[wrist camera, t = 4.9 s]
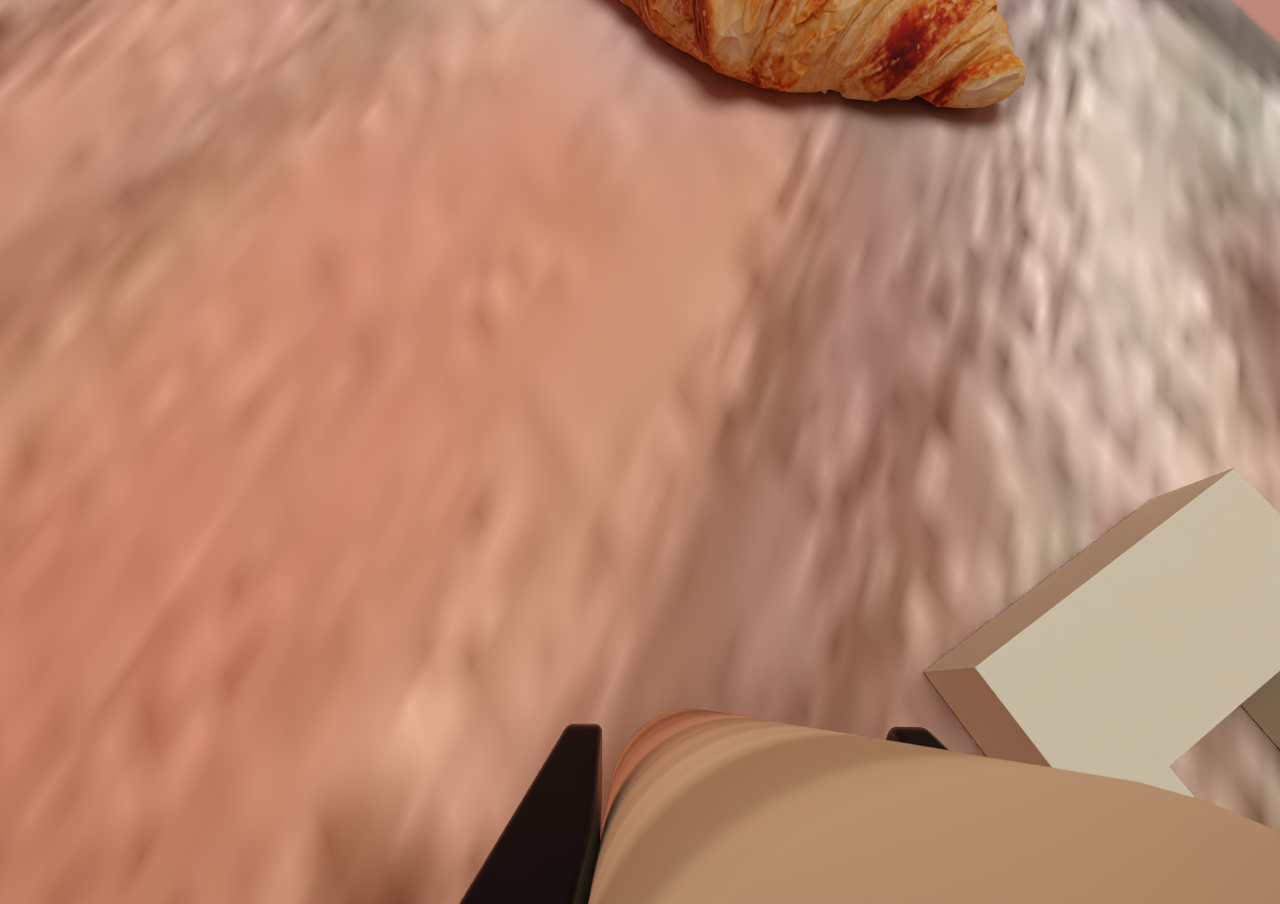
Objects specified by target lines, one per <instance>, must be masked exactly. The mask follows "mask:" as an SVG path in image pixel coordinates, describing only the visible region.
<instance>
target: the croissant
mask: <svg viewBox="0 0 1280 904" xmlns="http://www.w3.org/2000/svg"><path fill="white" fill-rule="evenodd" d="M620 1H621V3H623V4H625V5H628V6H629V7H630V8H631V9H632V10H633V11H634V12H635V13H636V14H637V15H638V16H639V17H640V18H641V20H642V21H643V22H644V24H645V25H646V26H647V27H648V29H649V30H650V31H651V32H652V33H654V34H655V35H656V36H658V37H659V38H661V39H663V40H664V41H666V42H667V43H669V44H670V45H672V46H674V47H676V48H678V49H679V50H681V51H683V52H686V53H688V54H691V55H692V56H694V57H695V58H697V59H698V60H700V61H702V62H703V63H707V64H709V65H710V66H711V67H712V68H713V69H714V70H715V71H716V72H719V73H722V74H724V75H727V76H730V77H733V78H736V79H739V80H741V81H744V82H748V83H751V84H753V85H754V86H757V87H761V88H766V89H770V90H775V91H786V92H818V91H821V92H823V93H824V94H825V93H826V92H827V91H828V90H829V89H830V90H834V91H837V92H840V93H841V96H842V97H845V98H847V99H858V100H867V101H875V102H876V101H879V100H882V99H890V98H896V99H899V100H906V99H911V98H913V97H915V96H916V95H918V96H919V97H921V98H923V99H925V100H926V101H928V102H930V103H931V104H933V105H934V106H936V107H952V108H976V107H985V106H987V105H990V104H993V103H996V102H999V101H1002V100H1004V99H1005V98H1007V97H1009V96H1010V95H1011V94H1012V93H1013V92H1014V91H1015V90H1017V89H1018V88H1019V87H1020V86H1022V85H1024V80H1025V76H1026V71H1025V67H1024V65H1023V62H1022V61H1020V59H1019V58H1018V57H1017V56H1015V55H1014V54H1013V43H1012V39H1011V35H1010V34H1009V33H1008V32H1007V30H1008V26H1007V24H1006V22H1005V20H1004V18H1003V16H1002V15H1001V14H999V13H997V1H996V0H620Z"/></svg>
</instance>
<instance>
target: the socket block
mask: <svg viewBox="0 0 1280 904" xmlns="http://www.w3.org/2000/svg"><path fill="white" fill-rule="evenodd" d="M923 672H924V674H925V675H926V676H927V678H928V679H929V680H930V682H931V683H932V684H933V686H934V687H935V688H936V690H937V691H938V692H939V694H940V695H941V696H942V698H943V699H944V700H945V702H946V703H947V704H948V706H949V707H950V708H951V710H952V711H953V712H954V714H955V715H956V716H957V718H958V719H959V720H960V722H961V723H962V724H963V726H964V727H965V728H966V730H967V731H968V732H969V734H970V735H971V736H972V738H973V739H974V740H975V742H976V743H977V744H978V746H979V747H980V748H981V750H982V751H983V752H984V754H985V755H986V756H987V757H991V758H997V759H1003V760H1009V761H1015V762H1021V763H1027V764H1033V765H1039V766H1045V767H1051V768H1057V769H1063V770H1069V771H1075V772H1081V773H1087V774H1094V775H1100V776H1106V777H1112V778H1118V779H1124V780H1130V781H1136V782H1140V783H1144V784H1147V785H1151V786H1154V787H1158V788H1162V789H1165V790H1169V791H1172V792H1176V793H1179V794H1183V795H1186V796H1190V797H1193V798H1195V797H1194V796H1193V795H1192V793H1191V792H1190V791H1189V790H1188V789H1187V787H1186V786H1185V785H1184V784H1183V782H1182V781H1181V780H1180V779H1179V778H1178V776H1177V775H1176V774H1175V773H1174V771H1173V770H1172V769H1171V768H1170V767H1169V766H1170V765H1171V764H1172V763H1173V762H1174V761H1175V760H1177V759H1178V758H1179V757H1180V756H1181V755H1182V754H1184V753H1185V752H1186V751H1187V750H1188V749H1189V748H1191V747H1192V746H1193V745H1194V744H1195V743H1196V742H1197V741H1199V740H1200V739H1201V738H1202V737H1203V736H1204V735H1206V734H1207V733H1208V732H1209V731H1210V730H1211V729H1213V728H1214V727H1215V726H1216V725H1217V724H1218V723H1220V722H1221V721H1222V720H1223V719H1224V718H1225V717H1227V716H1228V715H1229V714H1230V713H1231V712H1232V711H1233V710H1235V709H1236V708H1237V707H1238V706H1239V705H1240V704H1241V705H1242V707H1243V708H1244V709H1245V710H1246V711H1247V712H1248V714H1249V715H1250V716H1251V717H1252V718H1253V719H1254V720H1255V722H1256V723H1257V724H1258V725H1259V726H1260V727H1261V729H1262V730H1263V731H1264V732H1265V733H1266V734H1267V735H1268V737H1269V738H1270V739H1271V740H1272V741H1273V742H1274V744H1275V745H1276V746H1277V747H1278V748H1279V749H1280V514H1279V513H1278V512H1277V511H1276V510H1275V509H1274V508H1273V507H1272V506H1271V505H1270V504H1269V503H1268V502H1267V501H1266V500H1265V499H1264V498H1263V497H1262V495H1261V494H1260V493H1259V492H1258V491H1257V490H1256V489H1255V488H1254V487H1253V486H1252V485H1251V484H1250V483H1249V482H1248V481H1247V480H1246V479H1245V478H1244V477H1243V476H1242V475H1241V474H1240V472H1239V471H1238V470H1237V469H1236V468H1233V469H1230V470H1227V471H1225V472H1222V473H1219V474H1217V475H1214V476H1211V477H1209V478H1206V479H1203V480H1201V481H1198V482H1195V483H1193V484H1190V485H1187V486H1185V487H1182V488H1180V489H1177V490H1174V491H1172V492H1169V493H1166V494H1164V495H1161V496H1158V497H1156V498H1153V499H1151V500H1150V501H1148V502H1147V503H1146V504H1144V505H1143V506H1142V507H1140V508H1139V509H1138V510H1136V511H1135V512H1134V513H1132V514H1131V515H1130V516H1128V517H1127V518H1126V519H1124V520H1123V521H1122V522H1120V523H1119V524H1118V525H1117V526H1115V527H1114V528H1113V529H1111V530H1110V531H1109V532H1107V533H1106V534H1105V535H1103V536H1102V537H1101V538H1099V539H1098V540H1097V541H1095V542H1094V543H1093V544H1091V545H1090V546H1089V547H1087V548H1086V549H1085V550H1083V551H1082V552H1081V553H1079V554H1078V555H1077V556H1076V557H1074V558H1073V559H1072V560H1070V561H1069V562H1068V563H1066V564H1065V565H1064V566H1062V567H1061V568H1060V569H1058V570H1057V571H1056V572H1054V573H1053V574H1052V575H1050V576H1049V577H1048V578H1046V579H1045V580H1044V581H1042V582H1041V583H1040V584H1038V585H1037V586H1036V587H1035V588H1033V589H1032V590H1031V591H1029V592H1028V593H1027V594H1025V595H1024V596H1023V597H1021V598H1020V599H1019V600H1017V601H1016V602H1015V603H1013V604H1012V605H1011V606H1009V607H1008V608H1007V609H1005V610H1004V611H1003V612H1001V613H1000V614H999V615H997V616H996V617H995V618H994V619H992V620H991V621H990V622H988V623H987V624H986V625H984V626H983V627H982V628H980V629H979V630H978V631H976V632H975V633H974V634H972V635H971V636H970V637H968V638H967V639H966V640H964V641H963V642H962V643H960V644H959V645H958V646H956V647H955V648H954V649H953V650H951V651H950V652H949V653H947V654H946V655H945V656H943V657H942V658H941V659H939V660H938V661H937V662H935V663H934V664H933V665H931V666H930V667H929V668H927V669H926V670H925V671H923Z"/></svg>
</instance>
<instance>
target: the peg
mask: <svg viewBox="0 0 1280 904" xmlns="http://www.w3.org/2000/svg"><path fill="white" fill-rule="evenodd" d="M588 904H1280V832H1278V831H1276V830H1274V829H1272V828H1269V827H1267V826H1264V825H1262V824H1260V823H1257V822H1255V821H1253V820H1250V819H1248V818H1245V817H1243V816H1241V815H1238V814H1236V813H1234V812H1231V811H1229V810H1226V809H1224V808H1222V807H1219V806H1217V805H1214V804H1212V803H1210V802H1207V801H1204V800H1201V799H1197V798H1193V797H1190V796H1186V795H1183V794H1179V793H1176V792H1172V791H1169V790H1165V789H1162V788H1158V787H1154V786H1151V785H1147V784H1144V783H1140V782H1136V781H1130V780H1124V779H1118V778H1112V777H1106V776H1100V775H1094V774H1087V773H1081V772H1075V771H1069V770H1063V769H1057V768H1051V767H1045V766H1039V765H1033V764H1027V763H1021V762H1015V761H1009V760H1003V759H997V758H991V757H985V756H979V755H973V754H967V753H961V752H955V751H949V750H943V749H937V748H931V747H925V746H919V745H913V744H907V743H901V742H895V741H889V740H883V739H877V738H871V737H864V736H858V735H852V734H846V733H840V732H834V731H828V730H822V729H816V728H810V727H804V726H798V725H792V724H786V723H780V722H774V721H768V720H762V719H756V718H750V717H744V716H738V715H732V714H726V713H720V712H714V711H708V710H701V709H683V710H676V711H672V712H669V713H666V714H663V715H661V716H659V717H657V718H655V719H653V720H652V721H650V722H648V723H647V724H646V725H644V726H643V727H642V728H641V729H640V730H638V732H637V733H636V734H635V735H634V736H633V737H632V738H631V739H630V741H629V742H628V743H627V745H626V746H625V748H624V750H623V751H622V753H621V755H620V757H619V759H618V762H617V764H616V767H615V770H614V774H613V778H612V782H611V788H610V793H609V798H608V803H607V809H606V814H605V819H604V824H603V830H602V835H601V840H600V846H599V851H598V856H597V861H596V866H595V871H594V877H593V882H592V887H591V892H590V898H589V903H588Z"/></svg>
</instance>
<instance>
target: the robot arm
mask: <svg viewBox="0 0 1280 904" xmlns="http://www.w3.org/2000/svg"><path fill="white" fill-rule="evenodd" d="M886 740H889V741H895V742H901V743H907V744H913V745H919V746H925V747H931V748H937V749H943V750H948V749H947V748H946V747H945V746H944V745H943V744H942V743H941V742H940V741H939V740H938V739H937V738H936V737H935V736H934V735H933V734H932V733H930V732H929V731H928V730H926V729H924V728H921V727H894V728H892V729H891V730H890V731H889V732H888V735H887V739H886ZM601 801H602V729H601V727H600V726H599V725H597V724H570V725H569V726H567V727H566V729H565V730H564V731H563V733H562V735H561V736H560V738H559V740H558V741H557V743H556V745H555V746H554V748H553V750H552V751H551V753H550V755H549V756H548V758H547V759H546V761H545V763H544V764H543V766H542V768H541V769H540V771H539V773H538V774H537V776H536V778H535V779H534V781H533V783H532V784H531V786H530V788H529V789H528V791H527V793H526V794H525V796H524V798H523V799H522V801H521V803H520V804H519V806H518V807H517V809H516V811H515V812H514V814H513V816H512V817H511V819H510V821H509V822H508V824H507V826H506V827H505V829H504V831H503V832H502V834H501V836H500V837H499V839H498V841H497V842H496V844H495V846H494V847H493V849H492V851H491V852H490V854H489V856H488V857H487V859H486V860H485V862H484V864H483V865H482V867H481V869H480V870H479V872H478V874H477V875H476V877H475V879H474V880H473V882H472V884H471V885H470V887H469V889H468V890H467V892H466V894H465V895H464V897H463V899H462V900H461V902H460V904H588V903H589V898H590V892H591V887H592V882H593V877H594V871H595V866H596V861H597V856H598V851H599V846H600V827H601Z"/></svg>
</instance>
